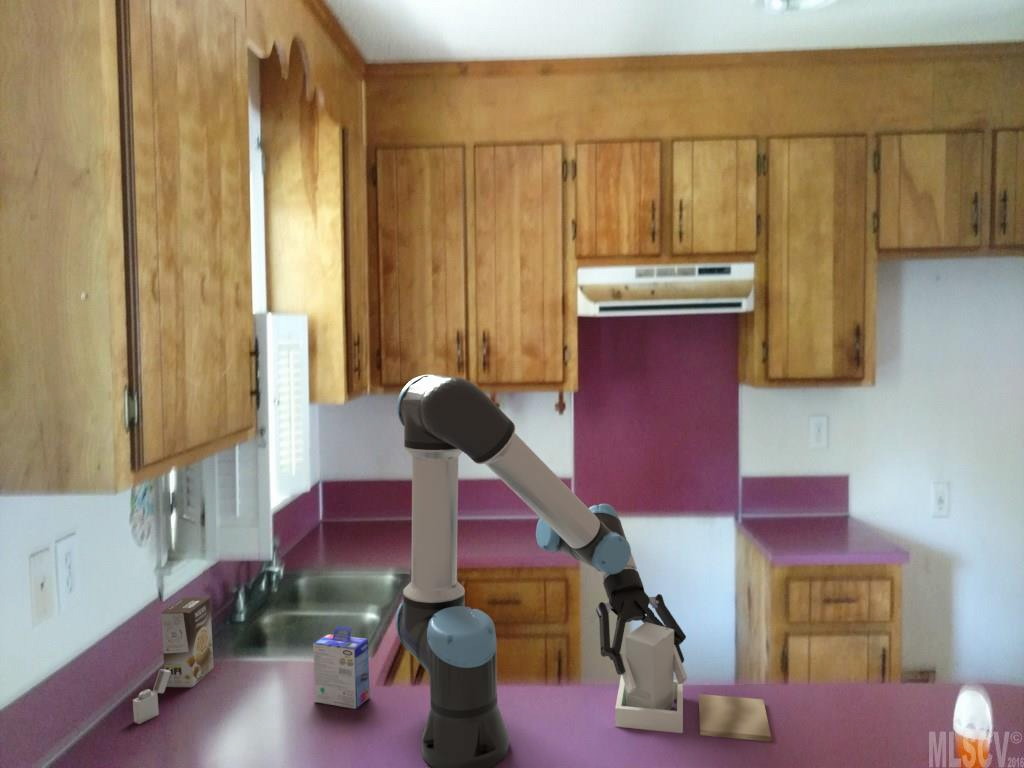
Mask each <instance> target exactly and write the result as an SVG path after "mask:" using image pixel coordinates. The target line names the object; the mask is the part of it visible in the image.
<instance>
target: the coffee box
mask: <svg viewBox="0 0 1024 768" xmlns="http://www.w3.org/2000/svg"><path fill="white" fill-rule="evenodd" d="M211 610H212V609H211V597H205V596H204V597H203V596H202V597H200V596H198V597H197V596H196V597H195V596H192V597H181V599H179V600H178V601H176V602H175V603H173V604H172V605H170V606H169V607H167V608H166V609H164V610H163V611H161V612H160V616H161V631H162V632H161V635H162V637H161V638H162V655H163V669H166V670H169V671H171V673H170V676H169V679H168V682H167V685H166V688H193V687H194V686H195V685H197V684H198V683H199V682H201V680H203V678H204V677H205V676H206V675H208V674H209V673H210V672H211V671H212V670H213V669H214V653H213V650H214V649H213V632H212V629H213V628H212V627H213V626H212V614H211V613H212V612H211Z"/></svg>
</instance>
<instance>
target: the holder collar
mask: <svg viewBox="0 0 1024 768" xmlns="http://www.w3.org/2000/svg"><path fill="white" fill-rule="evenodd" d="M674 700H676V710H672V709H670V710H660V709H649V708H638V707H627V706H626V686H625V683H624V680H623V677H622V674H621V675H620V679H619V686H618V692H617V697H616V701H615V702H616V703H615V709H614V712H615V715H614V717H615V719H614V720H615V724H614V725H615V727H616V728H624V729H626V728H627V729H638V730H646V731H657V732H658V731H659V732H666V733H667V732H668V733H677V734H683V733H684V683H683V684H678V681H677V679H674Z"/></svg>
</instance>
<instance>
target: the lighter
mask: <svg viewBox="0 0 1024 768" xmlns="http://www.w3.org/2000/svg"><path fill="white" fill-rule="evenodd" d="M170 673H171V671H169V670H166V669H164V668H160V669H159V671H158V673H157V677H156V679H155V683H154V686H153V689H152V690H151V689H144V690H142V691H140V692H139V694H138V696H137V697H136V698H134V699H132V708H133V709H132V711H133V722H134V723H135V724H138V725H141V724H143V723H144V722H147V721H149V720H151V719H153V718H155V717H157V716H159V714H160V713H159V711H160V710H159V697H158V694H165V691H166V688H167V687H166V685H167V682H168V679H169V676H170Z"/></svg>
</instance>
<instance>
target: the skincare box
mask: <svg viewBox="0 0 1024 768" xmlns="http://www.w3.org/2000/svg"><path fill="white" fill-rule="evenodd" d="M625 655H626V658H627V661H628V664H629V667H630V670H631V673H632V676H633V679H634V683H635V686H636V689H635V690H634V691H633V692H632V693H629V694H628V692H627V689H626V698H625V706H627V707H638V708H649V709H660V710H672V709H673V707H674V701H675V699H674V680H675V673H674V629H670V628H666V626H665V627H663V626H659V625H655V624H652V623H648V622H645V623H643V624H640V626H638V627H637V628H635V629H634V630H633V631H631V632H629V633H628V634H626V635H625Z"/></svg>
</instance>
